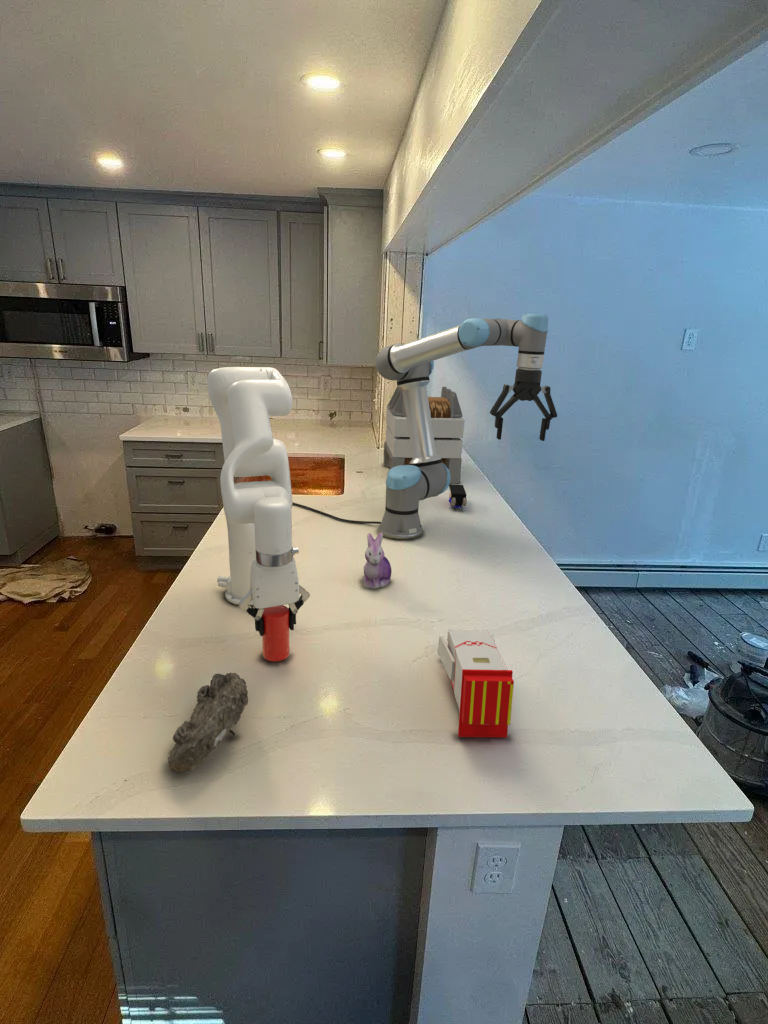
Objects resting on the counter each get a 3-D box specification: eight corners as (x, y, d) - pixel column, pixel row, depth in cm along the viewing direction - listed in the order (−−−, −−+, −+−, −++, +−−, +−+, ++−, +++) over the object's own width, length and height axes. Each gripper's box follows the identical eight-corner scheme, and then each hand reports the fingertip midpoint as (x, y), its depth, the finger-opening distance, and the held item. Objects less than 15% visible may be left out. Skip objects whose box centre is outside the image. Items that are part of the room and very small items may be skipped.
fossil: (194, 673, 113) (248, 641, 108) (227, 704, 116) (281, 674, 111) (142, 765, 94) (204, 730, 89) (183, 800, 97) (246, 768, 92)
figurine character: (467, 515, 225) (461, 499, 238) (469, 498, 221) (463, 482, 235) (450, 514, 224) (445, 498, 238) (452, 497, 221) (447, 482, 234)
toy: (488, 613, 130) (523, 677, 101) (484, 667, 133) (517, 744, 104) (435, 612, 130) (455, 676, 101) (432, 666, 133) (451, 743, 103)
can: (272, 643, 131) (271, 601, 127) (294, 650, 129) (294, 608, 125) (257, 657, 126) (256, 613, 122) (280, 664, 124) (279, 620, 120)
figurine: (369, 592, 157) (371, 543, 152) (354, 577, 166) (355, 529, 161) (399, 586, 162) (402, 538, 157) (383, 572, 170) (385, 525, 165)
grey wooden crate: (382, 463, 289) (386, 382, 275) (445, 464, 293) (451, 384, 279) (390, 482, 257) (394, 392, 243) (460, 483, 261) (468, 394, 247)
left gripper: (308, 543, 126) (308, 615, 132) (229, 553, 119) (233, 628, 125) (318, 557, 119) (318, 631, 125) (235, 568, 112) (239, 646, 119)
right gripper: (490, 368, 163) (483, 440, 170) (575, 371, 165) (564, 443, 172) (484, 365, 170) (477, 435, 178) (565, 369, 172) (555, 437, 179)
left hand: (275, 629), depth 125 cm, fingers open, 6 cm apart
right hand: (520, 439), depth 175 cm, fingers open, 13 cm apart
